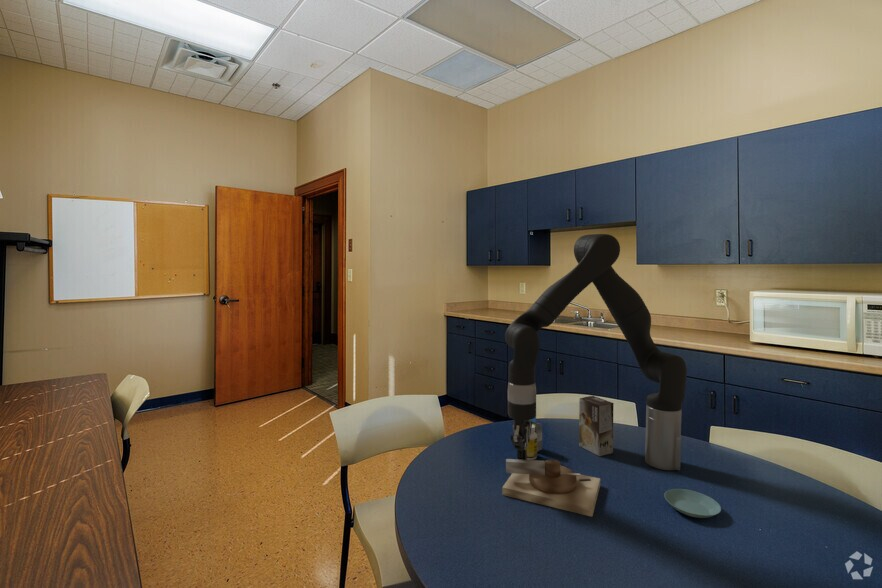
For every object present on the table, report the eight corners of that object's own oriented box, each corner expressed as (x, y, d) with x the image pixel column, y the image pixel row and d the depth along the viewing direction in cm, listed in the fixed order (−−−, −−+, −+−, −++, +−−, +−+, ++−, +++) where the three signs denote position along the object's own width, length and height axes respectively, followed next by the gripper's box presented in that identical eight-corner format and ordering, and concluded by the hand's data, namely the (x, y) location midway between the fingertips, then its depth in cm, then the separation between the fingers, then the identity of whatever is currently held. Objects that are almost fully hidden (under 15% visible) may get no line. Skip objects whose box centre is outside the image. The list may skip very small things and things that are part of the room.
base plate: (600, 485, 114) (600, 477, 114) (592, 516, 100) (592, 507, 100) (519, 468, 124) (519, 461, 124) (502, 494, 110) (502, 486, 110)
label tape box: (542, 449, 137) (543, 412, 137) (535, 453, 135) (536, 415, 134) (520, 441, 144) (520, 405, 143) (513, 445, 141) (513, 408, 140)
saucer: (718, 505, 105) (719, 496, 105) (722, 530, 95) (723, 520, 95) (664, 493, 111) (665, 484, 111) (663, 515, 101) (663, 506, 101)
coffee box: (614, 453, 135) (615, 403, 134) (598, 456, 132) (599, 405, 131) (592, 442, 143) (593, 395, 142) (577, 445, 140) (578, 397, 139)
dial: (575, 472, 117) (575, 454, 117) (584, 495, 105) (585, 475, 105) (505, 468, 119) (505, 450, 119) (506, 490, 107) (506, 470, 107)
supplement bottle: (537, 461, 129) (537, 429, 128) (519, 459, 130) (519, 428, 129) (536, 453, 134) (537, 423, 134) (519, 452, 135) (519, 422, 135)
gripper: (529, 408, 106) (529, 475, 108) (541, 393, 118) (541, 454, 119) (500, 404, 110) (500, 469, 111) (515, 390, 121) (515, 449, 123)
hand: (522, 461), depth 115 cm, fingers closed
